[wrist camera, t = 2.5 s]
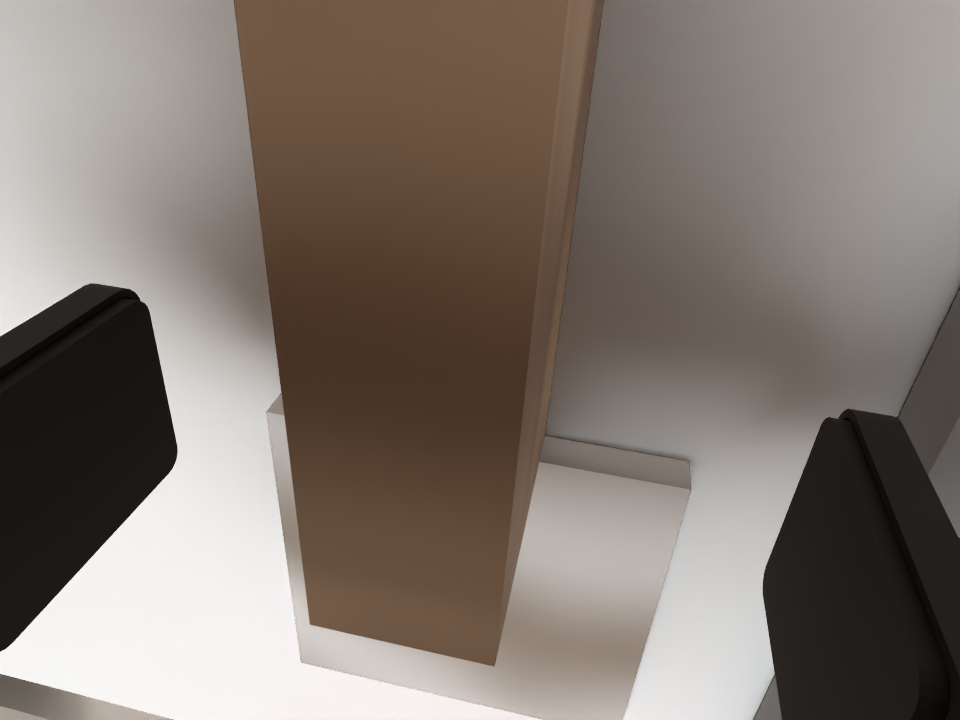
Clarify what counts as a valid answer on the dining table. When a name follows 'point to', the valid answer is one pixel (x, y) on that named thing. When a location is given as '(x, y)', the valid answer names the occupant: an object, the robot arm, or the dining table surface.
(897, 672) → the robot arm
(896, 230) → the dining table surface
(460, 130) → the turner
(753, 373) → the dining table surface
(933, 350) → the tool board
